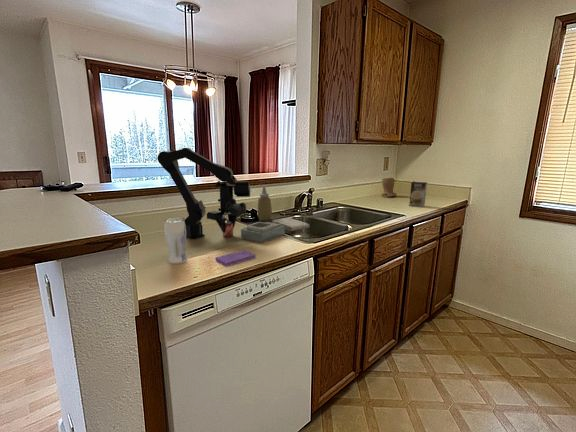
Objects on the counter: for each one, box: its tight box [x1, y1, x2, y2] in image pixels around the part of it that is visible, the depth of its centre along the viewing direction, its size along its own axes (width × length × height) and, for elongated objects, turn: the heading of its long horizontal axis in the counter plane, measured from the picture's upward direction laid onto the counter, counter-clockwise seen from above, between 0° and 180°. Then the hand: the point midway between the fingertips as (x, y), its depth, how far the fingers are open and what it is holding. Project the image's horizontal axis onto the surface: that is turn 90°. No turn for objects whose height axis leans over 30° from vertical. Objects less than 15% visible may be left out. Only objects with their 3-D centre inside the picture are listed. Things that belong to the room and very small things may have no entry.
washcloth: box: [271, 217, 310, 232], centre depth 158 cm, size 12×18×3 cm, turn 39°
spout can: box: [222, 218, 234, 239], centre depth 139 cm, size 5×5×8 cm
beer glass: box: [163, 217, 188, 265], centre depth 108 cm, size 7×7×15 cm
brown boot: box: [380, 177, 398, 198], centre depth 248 cm, size 15×12×15 cm
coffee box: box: [408, 180, 428, 208], centre depth 208 cm, size 9×6×16 cm
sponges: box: [215, 249, 256, 267], centre depth 112 cm, size 7×13×2 cm, turn 132°
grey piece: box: [240, 221, 286, 244], centre depth 140 cm, size 19×12×6 cm, turn 145°
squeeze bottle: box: [257, 186, 273, 222], centre depth 168 cm, size 8×8×18 cm
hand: (227, 231), depth 139 cm, fingers closed on spout can, 5 cm apart
